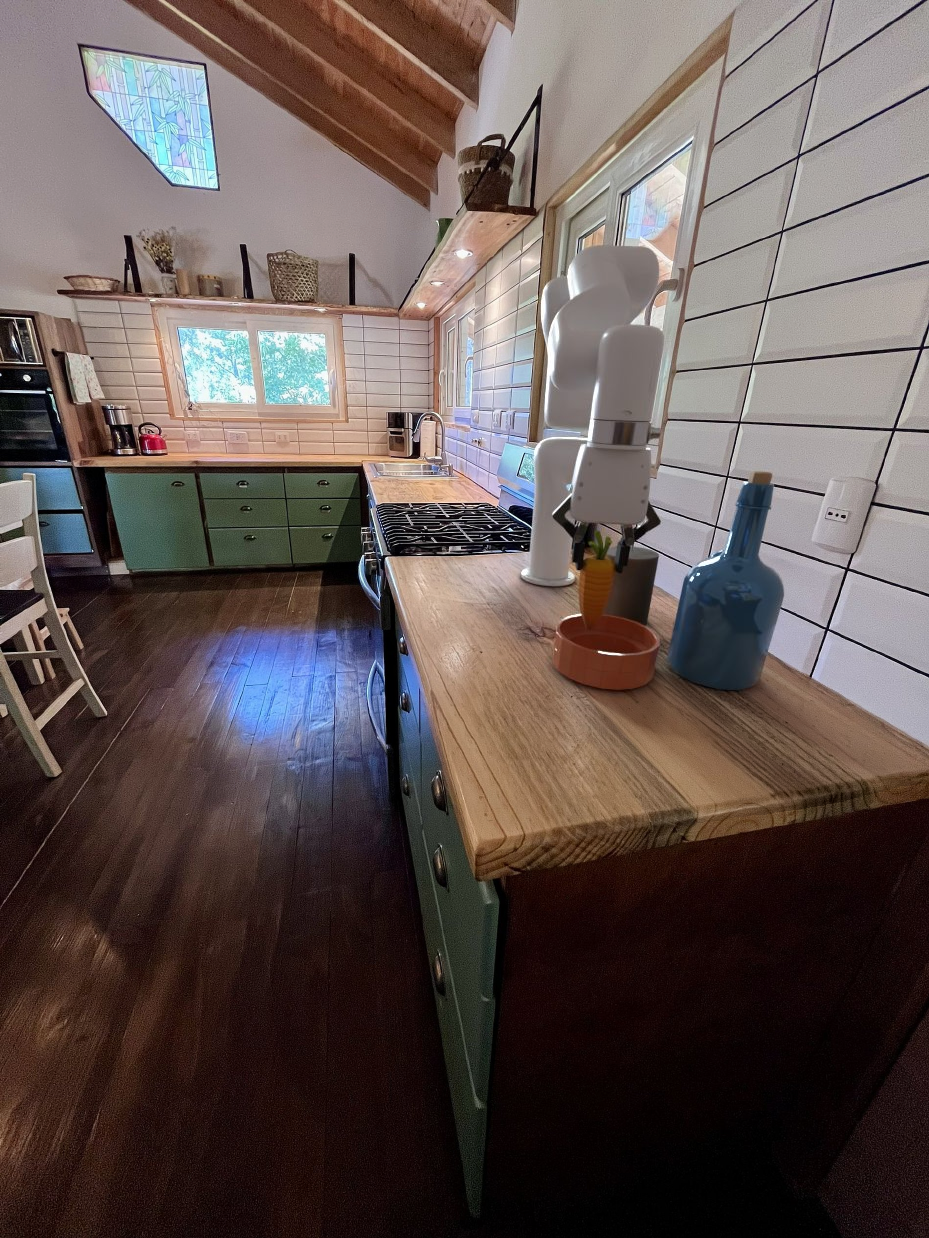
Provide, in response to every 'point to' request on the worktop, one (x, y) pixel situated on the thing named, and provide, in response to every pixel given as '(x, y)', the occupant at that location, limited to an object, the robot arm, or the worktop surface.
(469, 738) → the worktop surface
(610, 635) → the bowl
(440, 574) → the worktop surface
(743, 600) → the wine bottle
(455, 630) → the worktop surface
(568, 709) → the worktop surface
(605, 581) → the carrot
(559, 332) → the robot arm
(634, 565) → the pillar candle
